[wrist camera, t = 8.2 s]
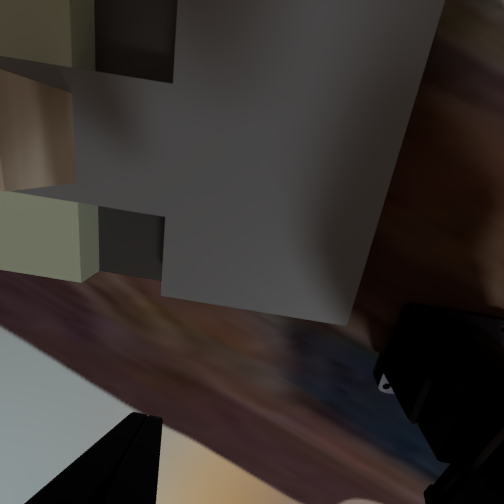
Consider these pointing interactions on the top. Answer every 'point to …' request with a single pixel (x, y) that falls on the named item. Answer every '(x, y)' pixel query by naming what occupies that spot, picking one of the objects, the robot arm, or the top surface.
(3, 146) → the block
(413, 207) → the top surface
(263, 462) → the top surface
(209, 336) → the top surface
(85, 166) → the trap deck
